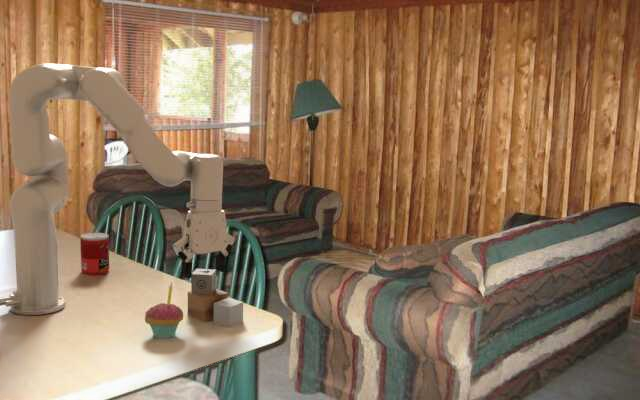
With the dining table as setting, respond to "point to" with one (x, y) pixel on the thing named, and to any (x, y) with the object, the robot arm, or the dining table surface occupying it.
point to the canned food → (94, 253)
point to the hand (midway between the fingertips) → (203, 273)
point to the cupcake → (164, 318)
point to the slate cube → (228, 312)
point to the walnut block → (204, 304)
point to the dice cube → (203, 281)
